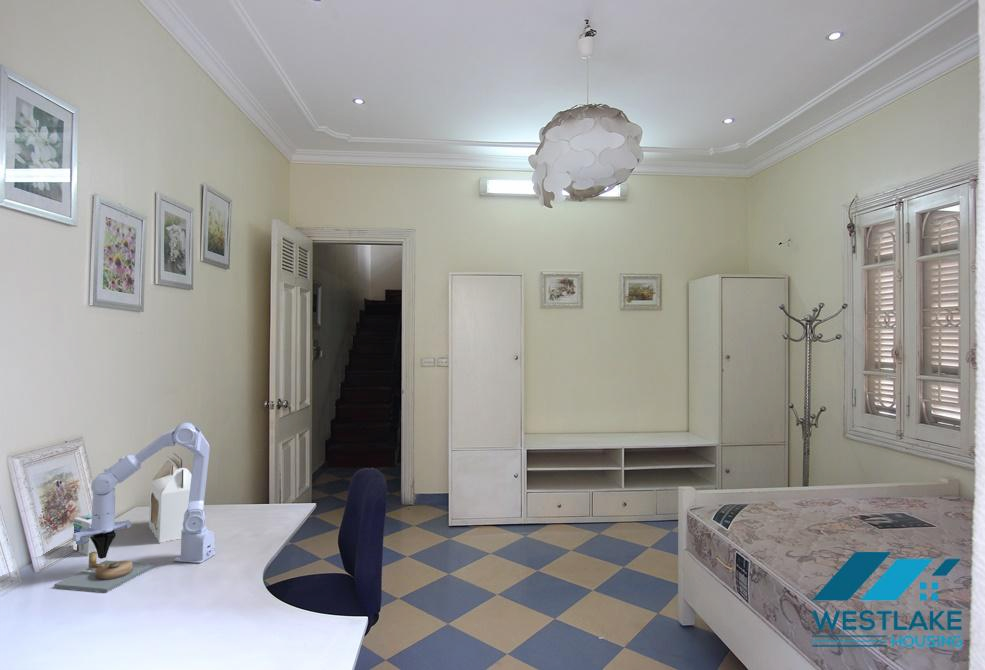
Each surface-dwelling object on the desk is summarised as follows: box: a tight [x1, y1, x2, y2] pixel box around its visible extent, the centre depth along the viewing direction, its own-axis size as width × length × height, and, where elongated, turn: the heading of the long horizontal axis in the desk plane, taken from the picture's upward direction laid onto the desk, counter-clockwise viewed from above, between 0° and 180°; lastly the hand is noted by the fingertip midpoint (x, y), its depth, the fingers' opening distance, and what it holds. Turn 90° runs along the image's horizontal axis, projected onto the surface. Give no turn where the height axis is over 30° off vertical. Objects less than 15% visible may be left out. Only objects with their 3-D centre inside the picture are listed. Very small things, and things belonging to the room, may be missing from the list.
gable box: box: [148, 452, 192, 544], centre depth 196 cm, size 22×13×28 cm, turn 41°
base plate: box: [53, 560, 155, 593], centre depth 156 cm, size 17×17×1 cm
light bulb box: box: [72, 513, 111, 557], centre depth 177 cm, size 11×7×11 cm, turn 62°
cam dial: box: [88, 552, 133, 580], centre depth 157 cm, size 12×9×6 cm
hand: (102, 557), depth 160 cm, fingers closed
